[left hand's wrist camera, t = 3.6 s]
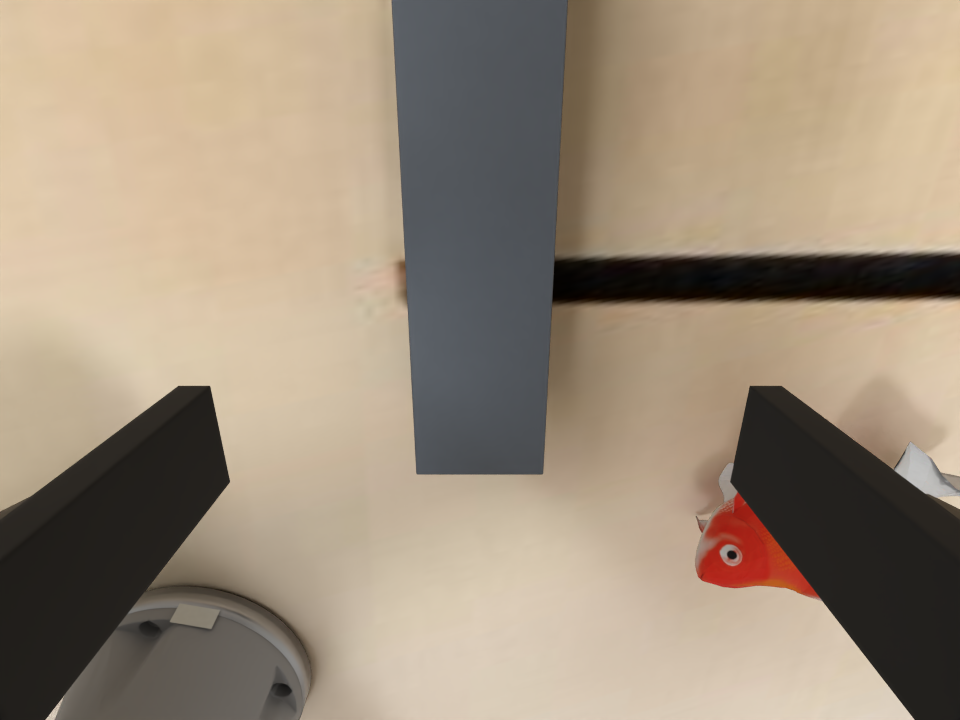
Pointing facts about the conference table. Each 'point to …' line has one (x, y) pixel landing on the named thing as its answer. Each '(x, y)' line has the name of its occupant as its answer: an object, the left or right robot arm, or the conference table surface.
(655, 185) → the conference table surface
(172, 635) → the left robot arm
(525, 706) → the conference table surface
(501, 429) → the bar
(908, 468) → the fish
